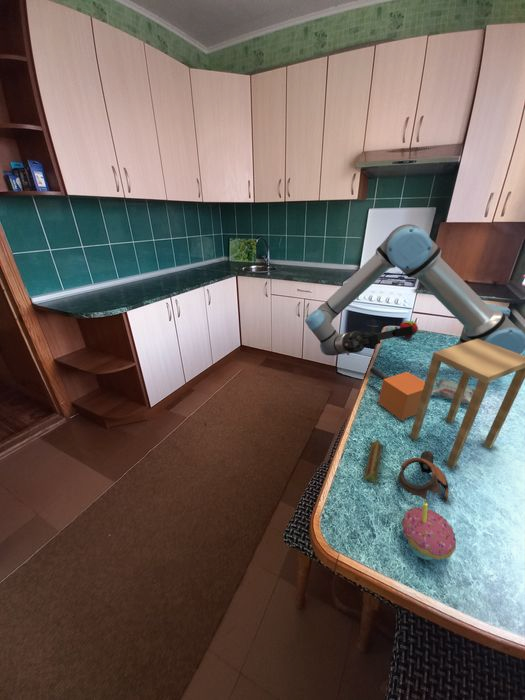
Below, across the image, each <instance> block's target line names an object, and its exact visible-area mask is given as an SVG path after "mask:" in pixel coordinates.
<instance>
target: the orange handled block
mask: <svg viewBox="0 0 525 700" xmlns="http://www.w3.org/2000/svg"><path fill="white" fill-rule="evenodd" d="M369 372H370V374H372V375H374V376H375V377H377V378H379V379H380V380H382V383H381V388H380V393H379V397H378V405H380V406H382V407H383V408H384V409H386V410H387V411H388V412H389V413H391V414H392V415H394V416H395V417H396V418H397V419H399V420H400V421H402V420H403V421H404V420H405V419H408V418H410V417H412V416H416V413H417V409H418V406H419V402H420V399H421V395H422V392H423V388H424V385H425V381H424V380H423V379H421V378H419V377H417V376H416V375H414V374H412V373H411V372H408V371H405V372H402V373H398V374H396V375H392V376H388V375H387V374H385V373H384V372H382V371H381V370H379V369H378V368H376V367H374V366H371V367H370V368H369Z"/></svg>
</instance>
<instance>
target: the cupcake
mask: <svg viewBox="0 0 525 700" xmlns="http://www.w3.org/2000/svg"><path fill="white" fill-rule="evenodd" d="M401 527H402V532H403V535H404V536H405V538H406V539H407V543H408V546H409V549H410V550H411V551H412V553H413V554H414V555H415V556H417V557H418V558H420V559H422V560H427V561H431V560H434V559H435V560H438V561H439V560H445V559H449V558H450V557H452V555H453V554H454V553H455V551H456V548H457V539H456V533H455V532H454V530H453V528H452V526H451V524H450V523H449V522H448V521H447V519H446V518H444V516H443V515H440V513H437V512H436V511H435V510H431V509H429V503H428V502H427V500H425V499H424V502H423V506H421V507H419V506H418V507H416V506H415V507H411V508H409V509H408V510H407V511H406V512H405V513H404V515H403V517H402V520H401Z"/></svg>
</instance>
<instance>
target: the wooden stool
mask: <svg viewBox="0 0 525 700" xmlns="http://www.w3.org/2000/svg"><path fill="white" fill-rule="evenodd" d="M442 363H443V364H444V365H446V366H449V367H451V368H453V369H455V370H457V371H458V372H461V375H460V377H459V381H458V383H459V384H458V386H457V389H456V392H455V395H454V398H453V401H452V400H451V404H450V406H449V410H448V413H447V415H446V418H445V421H446V422H447V423H448V424H453V423H454V422H455V420H456V417H457V414H458V411H459V409H460V406H461V401H462V398H463V395H464V393H465V390H466V387H467V386H468V384H469V382H470V378H474V379H475V380H477V382H476V385H475V387H474V392H473V395H472V398H471V400H470V403H469V405H467V408H466V411H465V413H464V416H463V419H462V421H461V425H460V427H459V429H458V431H457V434H456V437H455V438H454V439H455V440H454V442H453V445H452V447H451V450H450V452H449V454H448V457H447V460H446V462H445V466H447V467H448V468H449V469H450V470H452V469H454V468H456V467H457V464H458V462H459V459H460V457H461V455H462V452H463V449H464V447H465V444H466V442H467V439H468V437H469V435H470V432H471V430H472V428H473V425H474V423H475V421H476V417H477V415H478V413H479V410H480V408H481V406H482V403H483V400H484V398H485V395H486V393H487V391H488V388H489V385H490V383H491V382H493V381H496V380H498V379H500V378H503V377H505V376H508V375H510V374H513V373H514V376H513V377H512V380H511V382H510V384H509V386H508V388H507V391H506V393H505V395H504V397H503V400H502V402H501V404H500V406H499V408H498V411H497V413H496V415H495V417H494V420H493V422H492V424H491V426H490V429H489V431H488V433H487V435H486V438H485V440H484V442H483V444H482V445H483V446H484V447H486V448H487V449H492V448H493V447H494V445H495V443H496V440H497V438H498V436H499V435H500V431H501V430H502V427H503V426H504V423H505V421H506V419H507V417H508V416H509V413H510V410H511V409H512V407H513V404H514V403H515V400H516V398H517V396H518V394H519V392H520V389H521V387H522V385H523V384H524V381H525V355H523V354H518V353H515V352H512V351H510V350H507V349H504V348H501V347H499V346H496V345H493V344H491V343H488V342H485V341H482V340H480V339H475V340H472V341H468V342H465V343H462V344H459V345H456V344H455V345H453V346H449V347H446V348H443V349H439V350H436V351H433V352H432V358H431V360H430V364H429V367H428V371H427V374H426V377H425V381H424V382H425V385H424V388H423V392H422V395H421V399H420V402H419V406H418V409H417V413H416V414H415V415H414V416H415V417H414V419H413V423H412V427H411V430H410V433H409V438H411V439H412V440H414V441H415V440H417V439H419V436H420V434H421V429H422V426H423V423H424V420H425V417H426V413H427V411H428V407H429V404H430V401H431V397H432V394H433V393H432V391H433V390H434V387H435V385H436V382H437V381H436V380H437V377H438V374H439V370H440V367H441V364H442Z"/></svg>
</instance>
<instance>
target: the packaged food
mask: <svg viewBox="0 0 525 700" xmlns="http://www.w3.org/2000/svg"><path fill="white" fill-rule="evenodd" d="M458 384H459V382H457V381H454V380H452V379H448V378H447V379H446V378H441V379H439V380H437V381H435V385H437V387H435V388H433V391H432V394H433V395H436V396H437V397H438V398H442V399H445V400H449V401H451V402H452V401H453V398H454V395H455V392H456V389H457V386H458ZM474 390H475V388H473V387H472V386H470V385H467V387H466V390H465V393H464V395H463V398H462V401H461V403H460V405H464V406H468V405H469V403H470V400H471V398H472V395H473V392H474Z"/></svg>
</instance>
